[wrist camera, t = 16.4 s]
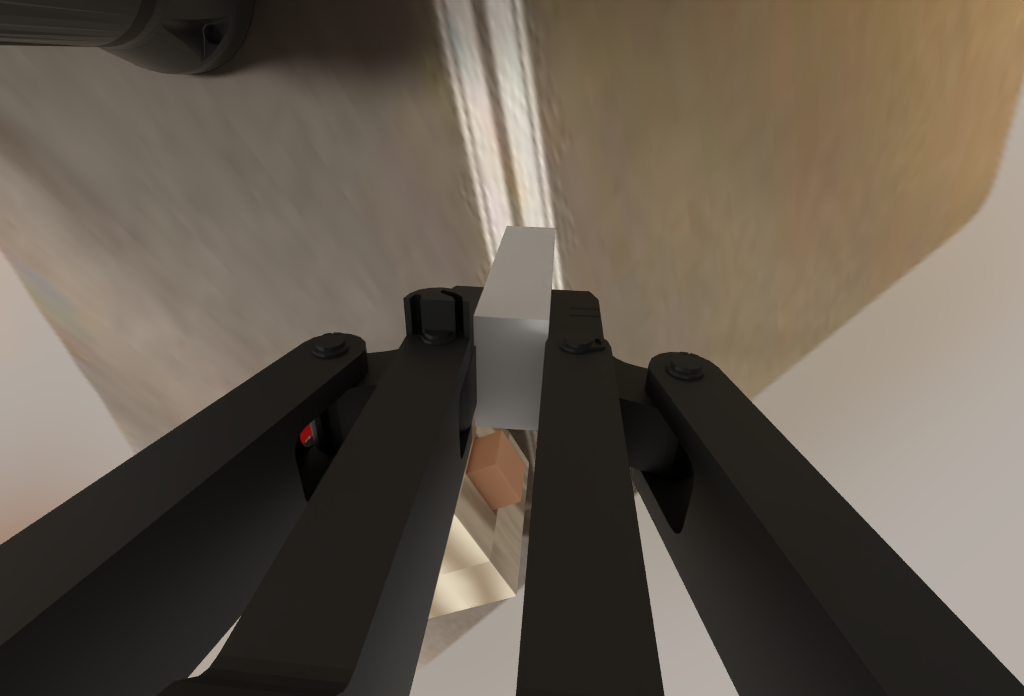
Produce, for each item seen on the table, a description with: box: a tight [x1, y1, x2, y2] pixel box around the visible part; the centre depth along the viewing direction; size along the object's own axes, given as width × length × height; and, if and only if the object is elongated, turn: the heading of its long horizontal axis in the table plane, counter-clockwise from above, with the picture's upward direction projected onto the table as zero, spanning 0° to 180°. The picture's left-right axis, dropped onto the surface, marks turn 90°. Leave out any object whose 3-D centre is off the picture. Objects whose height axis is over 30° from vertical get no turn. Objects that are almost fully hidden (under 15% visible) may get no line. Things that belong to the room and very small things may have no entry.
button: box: [466, 430, 525, 510], centre depth 50 cm, size 6×5×5 cm
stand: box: [428, 412, 529, 619], centre depth 53 cm, size 10×16×18 cm, turn 28°
